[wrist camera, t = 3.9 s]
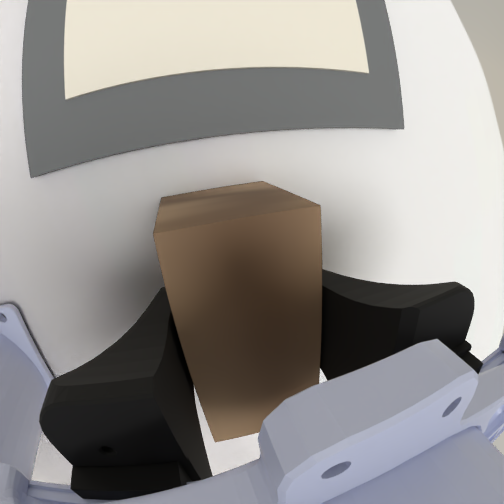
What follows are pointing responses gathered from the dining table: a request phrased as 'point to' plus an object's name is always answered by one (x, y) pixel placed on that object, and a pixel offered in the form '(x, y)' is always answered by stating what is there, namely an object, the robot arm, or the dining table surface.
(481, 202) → the dining table surface
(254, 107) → the picture frame
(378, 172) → the dining table surface
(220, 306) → the card box
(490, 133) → the dining table surface
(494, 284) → the dining table surface
